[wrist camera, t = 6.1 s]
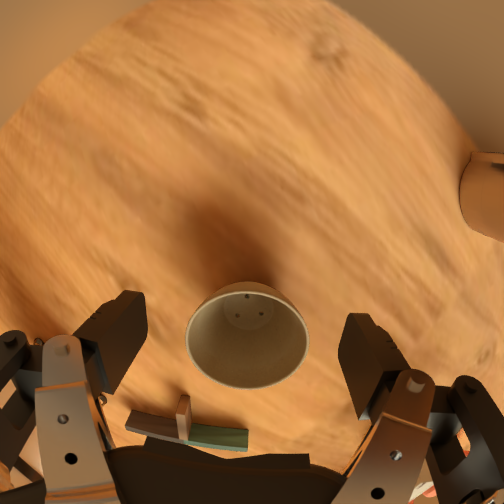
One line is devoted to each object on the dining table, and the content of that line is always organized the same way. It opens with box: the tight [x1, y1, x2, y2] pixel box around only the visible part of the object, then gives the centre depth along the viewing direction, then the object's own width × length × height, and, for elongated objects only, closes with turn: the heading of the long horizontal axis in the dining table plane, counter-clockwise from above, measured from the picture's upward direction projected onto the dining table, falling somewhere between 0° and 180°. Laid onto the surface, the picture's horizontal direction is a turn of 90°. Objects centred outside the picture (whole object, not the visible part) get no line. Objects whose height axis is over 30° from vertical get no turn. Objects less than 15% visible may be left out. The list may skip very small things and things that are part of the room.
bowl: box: [185, 281, 309, 390], centre depth 24 cm, size 10×10×7 cm
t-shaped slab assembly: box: [125, 395, 249, 452], centre depth 31 cm, size 8×18×4 cm, turn 84°
